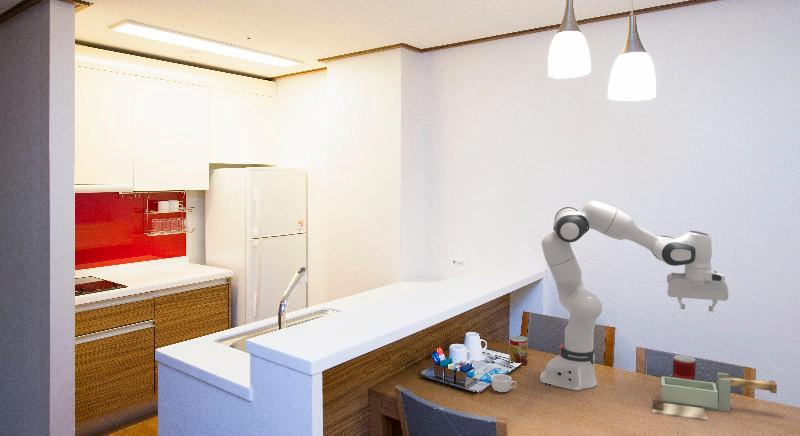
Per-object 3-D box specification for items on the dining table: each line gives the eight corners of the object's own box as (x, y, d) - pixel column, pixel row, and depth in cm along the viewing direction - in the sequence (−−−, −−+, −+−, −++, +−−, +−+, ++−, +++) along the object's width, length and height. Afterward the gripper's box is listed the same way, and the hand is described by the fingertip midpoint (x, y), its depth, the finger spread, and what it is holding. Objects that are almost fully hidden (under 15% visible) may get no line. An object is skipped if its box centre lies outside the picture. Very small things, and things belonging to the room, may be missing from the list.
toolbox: (661, 402, 202) (662, 372, 201) (660, 393, 210) (661, 364, 209) (730, 412, 193) (731, 381, 192) (726, 402, 201) (727, 372, 200)
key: (724, 386, 195) (725, 378, 194) (723, 382, 198) (723, 374, 198) (776, 393, 188) (776, 385, 188) (774, 389, 192) (774, 380, 192)
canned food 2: (697, 389, 214) (698, 361, 213) (675, 387, 215) (676, 360, 214) (691, 381, 221) (692, 355, 220) (670, 380, 223) (670, 354, 222)
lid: (652, 414, 193) (652, 402, 193) (651, 404, 202) (651, 392, 201) (707, 422, 187) (707, 409, 187) (703, 411, 195) (704, 398, 195)
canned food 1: (524, 368, 238) (524, 342, 237) (507, 365, 242) (507, 339, 241) (529, 363, 245) (529, 337, 244) (512, 360, 249) (512, 334, 248)
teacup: (490, 393, 213) (490, 380, 212) (492, 386, 220) (492, 373, 220) (516, 396, 210) (516, 382, 210) (517, 388, 218) (517, 375, 217)
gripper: (667, 273, 206) (666, 309, 207) (729, 277, 197) (728, 314, 199) (666, 270, 212) (665, 305, 213) (727, 274, 203) (726, 310, 204)
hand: (696, 310), depth 206 cm, fingers open, 8 cm apart
